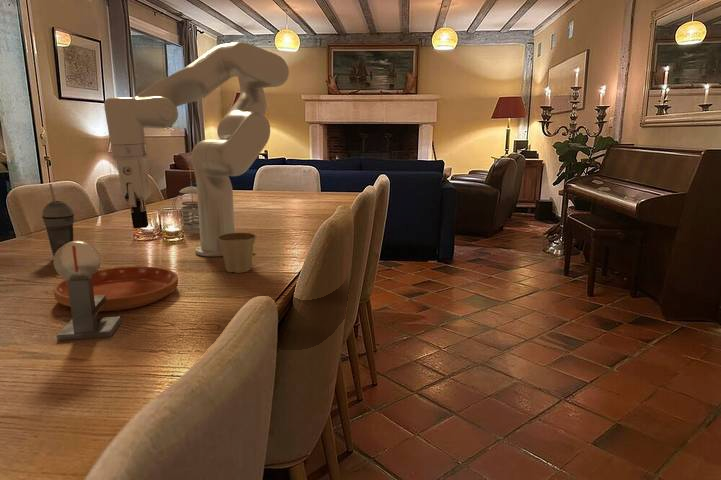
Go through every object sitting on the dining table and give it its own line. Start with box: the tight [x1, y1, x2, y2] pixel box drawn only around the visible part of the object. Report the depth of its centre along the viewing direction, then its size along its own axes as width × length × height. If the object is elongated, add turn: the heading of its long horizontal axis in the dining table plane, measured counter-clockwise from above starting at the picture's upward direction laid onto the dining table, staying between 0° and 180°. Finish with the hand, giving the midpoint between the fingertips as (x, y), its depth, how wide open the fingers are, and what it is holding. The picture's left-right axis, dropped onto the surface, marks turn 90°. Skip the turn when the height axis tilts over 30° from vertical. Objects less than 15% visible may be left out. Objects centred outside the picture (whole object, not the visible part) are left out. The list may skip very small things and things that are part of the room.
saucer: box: [53, 266, 179, 312], centre depth 99 cm, size 23×23×4 cm
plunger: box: [96, 302, 105, 316], centre depth 85 cm, size 1×6×1 cm, turn 13°
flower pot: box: [217, 232, 257, 274], centre depth 118 cm, size 9×9×9 cm
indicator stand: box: [52, 240, 122, 342], centre depth 81 cm, size 8×8×16 cm
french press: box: [171, 157, 200, 234], centre depth 164 cm, size 10×12×25 cm
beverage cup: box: [41, 183, 75, 258], centre depth 125 cm, size 7×7×20 cm
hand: (141, 227), depth 117 cm, fingers closed
